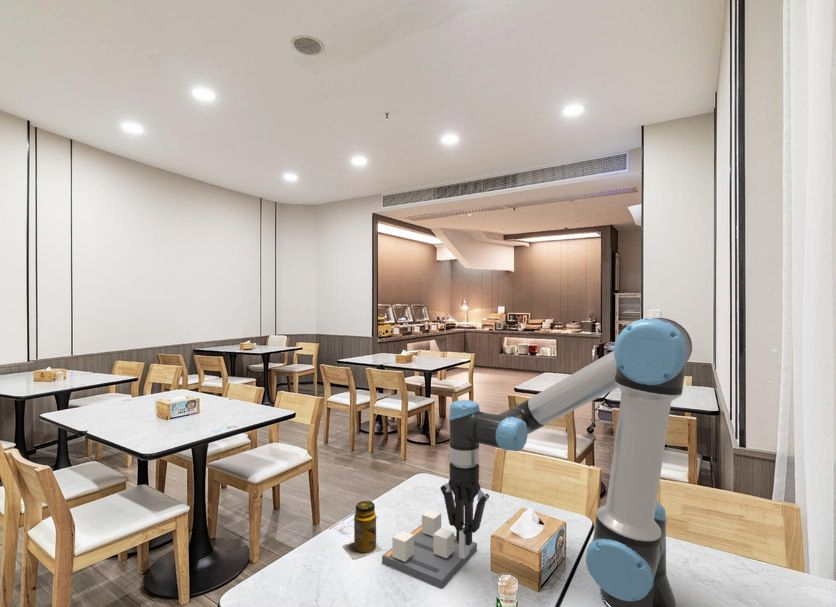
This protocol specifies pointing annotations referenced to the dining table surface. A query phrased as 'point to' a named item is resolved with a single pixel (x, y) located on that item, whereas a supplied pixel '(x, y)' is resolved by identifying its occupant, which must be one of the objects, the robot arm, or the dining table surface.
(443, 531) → the block
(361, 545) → the condiment
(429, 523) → the block
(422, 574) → the grey slotted panel board
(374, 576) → the dining table surface
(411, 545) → the block
